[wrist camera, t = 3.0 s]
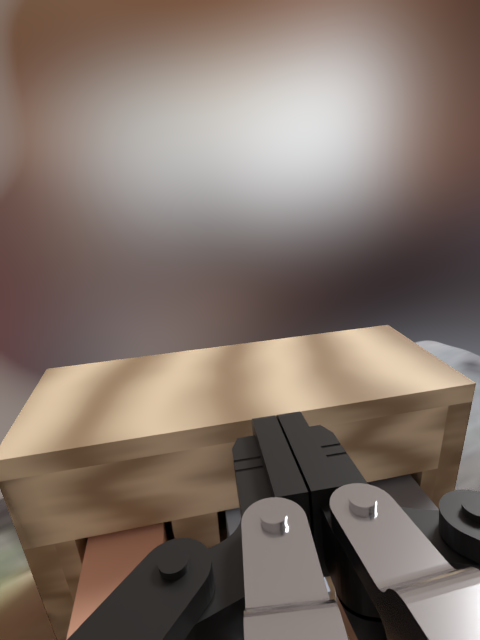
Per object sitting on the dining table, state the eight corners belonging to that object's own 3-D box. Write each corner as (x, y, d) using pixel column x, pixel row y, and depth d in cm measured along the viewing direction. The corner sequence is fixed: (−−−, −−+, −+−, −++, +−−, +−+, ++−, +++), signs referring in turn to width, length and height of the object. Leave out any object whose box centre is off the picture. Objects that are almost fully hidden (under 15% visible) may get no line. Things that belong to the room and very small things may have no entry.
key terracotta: (171, 563, 23) (163, 514, 21) (173, 686, 17) (162, 631, 16) (103, 577, 22) (89, 528, 21) (83, 709, 17) (62, 655, 15)
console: (372, 485, 35) (387, 324, 29) (436, 580, 27) (475, 383, 21) (94, 540, 31) (46, 368, 25) (68, 670, 23) (-10, 461, 17)
